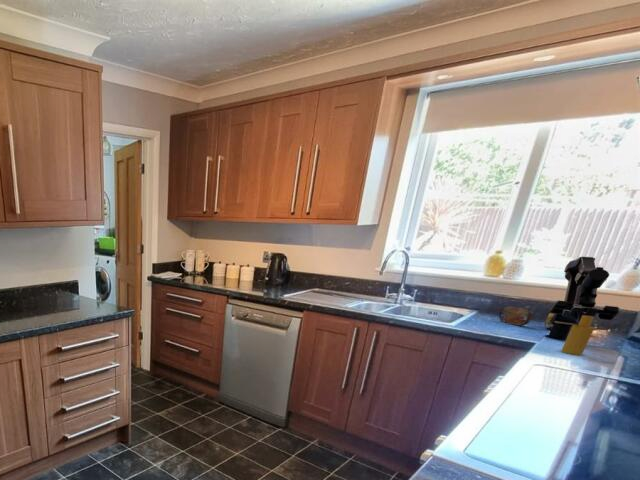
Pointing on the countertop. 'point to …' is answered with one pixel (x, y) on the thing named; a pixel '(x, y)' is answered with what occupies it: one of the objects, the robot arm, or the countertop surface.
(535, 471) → the countertop surface
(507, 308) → the tin
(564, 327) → the robot arm
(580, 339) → the bottle
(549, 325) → the burger
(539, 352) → the countertop surface
